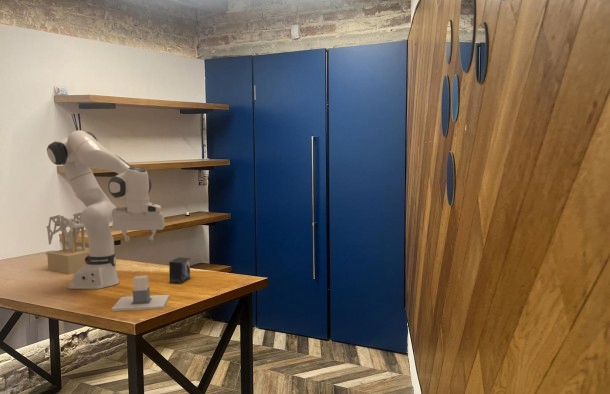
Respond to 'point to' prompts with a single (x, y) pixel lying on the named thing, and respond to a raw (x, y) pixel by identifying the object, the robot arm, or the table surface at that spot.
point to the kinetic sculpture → (74, 256)
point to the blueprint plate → (153, 303)
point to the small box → (179, 270)
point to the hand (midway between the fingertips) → (139, 240)
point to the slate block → (141, 296)
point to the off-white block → (140, 283)
